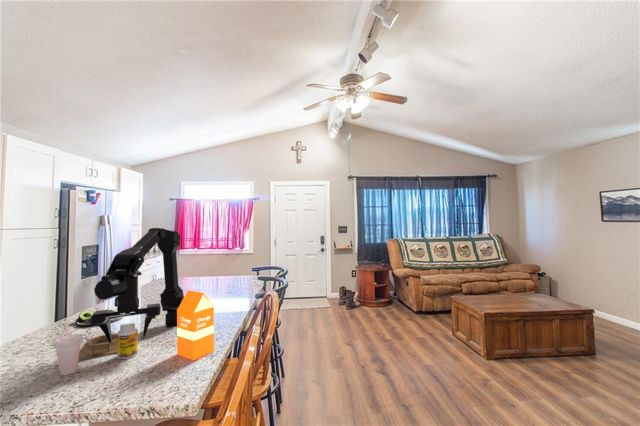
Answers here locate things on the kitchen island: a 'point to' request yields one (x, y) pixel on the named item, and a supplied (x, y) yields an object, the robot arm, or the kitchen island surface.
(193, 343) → the orange juice
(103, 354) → the caddy
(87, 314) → the salad plate
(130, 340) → the supplement bottle
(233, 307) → the kitchen island surface
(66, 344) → the smoothie
